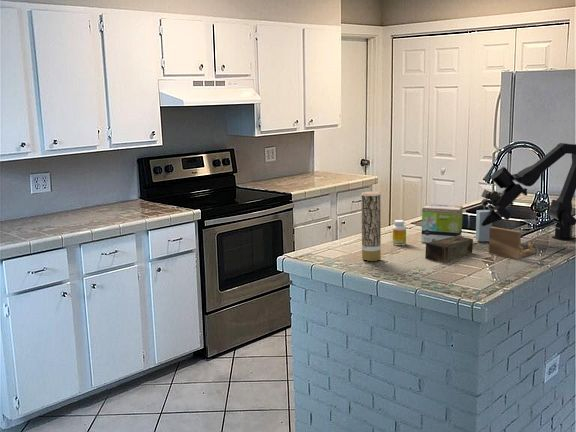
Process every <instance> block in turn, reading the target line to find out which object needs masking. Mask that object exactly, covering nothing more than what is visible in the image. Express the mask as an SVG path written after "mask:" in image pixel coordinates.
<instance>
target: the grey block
mask: <svg viewBox="0 0 576 432" xmlns="http://www.w3.org/2000/svg"><path fill="white" fill-rule="evenodd" d="M489 214H490V210H484V209H479V210H478V209H476V215H475V219H476V221H475V240H476V241H477V242H489V231H490V227H493V223H490V224H488V225H485V226H482V223H483V221H484V220H485V219H486V217H487V216H488V215H489Z"/></svg>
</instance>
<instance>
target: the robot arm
mask: <svg viewBox="0 0 576 432" xmlns="http://www.w3.org/2000/svg"><path fill="white" fill-rule="evenodd" d="M567 154H568V155H569V154H571V164H570V168H569V170H568V172H567V175H566V177H565V181H564V182H563V183H564V184H563V187H562V188H561V192H560V194H559V196H558V198H557V199H552V200H551V203H550V206H549V207H548V209H549V215H550V217H551V218H552V219H553V222H555V227H554V235H552V236H551V238H552V239H558V240H561V241H569V240H573V239H576V236H573V230H574V229H573V226H575V225H576V218H575V216H573V215H572V212H573V202H572V200H573V199H574V195H575V193H576V143H575V144H573V143H565V142H560V143H558V144H557V145H556V146H555V147H554V148H552V149H551V150H550V151H549V152H548V153H546V154H545V155H544V156H543V157H541V158H540V159H539V160H537V161H536V162H535V163H534V164H532V165H530V166H528V167H524V168H523V169H521V170H520V171H518V172H517V173H514V174H511V172H510V171H509V170H508V168H506V167H504V166H501V168H500V169H497V170H496V171H494V172H493V173H492V175H491V176H490V179H491V181H493V183H494V184H496V186H497V187H499V189H503V191H502V192H498V191H495V190H492V191H490V190H487V189H485V188H484V189H483V192H482V194H481V197H482V198H484V199H482V200H481V201H480V204H482V207H483V210H490V214H489V215H488V216H487V217H486V219H485V220H484V221H483V223H482V226H485V225H488V224H490V223H492V224H493V223H496V222H498V221H502V220H503V219H504V220H505V221H509V219H511V218H512V213H511V212H510V210H508V208H509V206H513V205H514V204H515V203H514V201H515V200H517V199H518V198H519V196H520V195H523V196H528V188H525V187H532V186H533V185H535V184H536V183H537V182H538V180H539V179H540V177H541V175H542V174H543V172H545V171H546V170H548V169H549V168H550V167H552V165H554V164H555V163H556V162H557V161H559V160H560V159H561V158H563V157H564V156H565V155H567ZM515 182H517V183H515ZM523 186H525V187H523Z"/></svg>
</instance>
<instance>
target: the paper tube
mask: <svg viewBox="0 0 576 432" xmlns="http://www.w3.org/2000/svg"><path fill="white" fill-rule="evenodd" d="M381 215H382V213H381V192H380V191H364V192H361V258H362V261H364V260H367V261H366V262H368V261H375V262H378V261H377V260H379V261H380V260H381V256H382V255H381V254H382V253H381V251H382V250H381V247H382V246H381V245H382V244H381V241H382V240H381V239H382V238H381V232H382V231H381V230H382V229H381V219H382V217H381Z"/></svg>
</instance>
